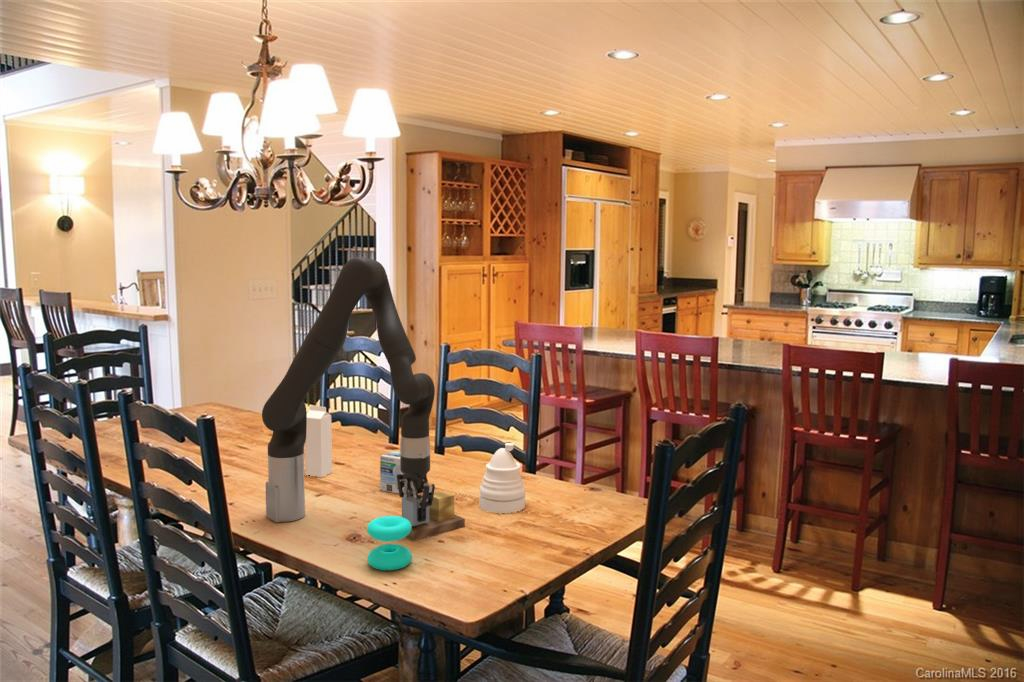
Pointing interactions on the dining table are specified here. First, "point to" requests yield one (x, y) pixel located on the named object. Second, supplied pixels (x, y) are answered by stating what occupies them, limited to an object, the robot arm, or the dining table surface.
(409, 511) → the pale grey cube
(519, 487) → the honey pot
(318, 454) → the milk
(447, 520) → the brown wooden stand
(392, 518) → the donuts
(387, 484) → the light bulb box
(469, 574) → the dining table surface
